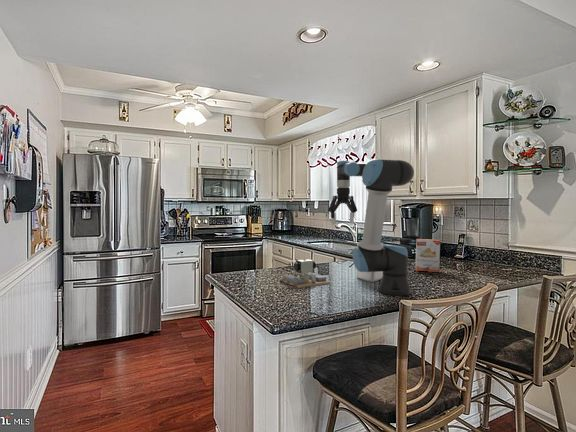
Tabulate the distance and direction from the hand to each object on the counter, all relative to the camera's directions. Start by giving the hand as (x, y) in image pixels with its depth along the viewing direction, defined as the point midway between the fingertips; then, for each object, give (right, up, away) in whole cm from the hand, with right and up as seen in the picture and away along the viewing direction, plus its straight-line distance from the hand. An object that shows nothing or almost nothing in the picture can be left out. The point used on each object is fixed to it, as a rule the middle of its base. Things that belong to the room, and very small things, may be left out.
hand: (342, 223), depth 203 cm
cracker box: (+58, -32, +19) cm, 69 cm away
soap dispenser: (+14, -32, -3) cm, 35 cm away
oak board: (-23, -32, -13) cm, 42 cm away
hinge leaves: (-23, -31, -13) cm, 41 cm away
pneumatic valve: (-23, -31, -13) cm, 41 cm away
